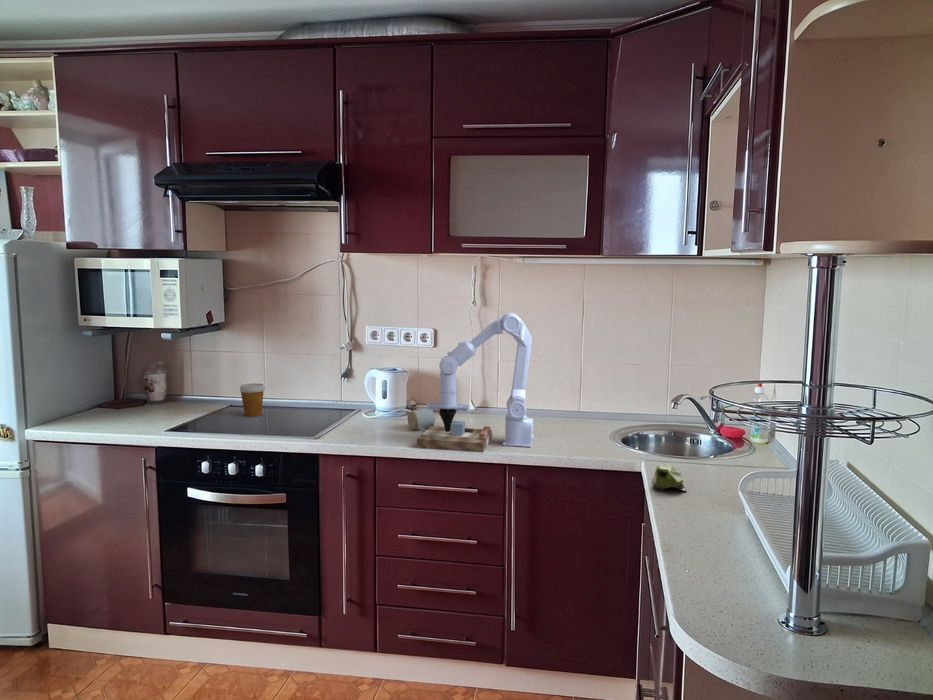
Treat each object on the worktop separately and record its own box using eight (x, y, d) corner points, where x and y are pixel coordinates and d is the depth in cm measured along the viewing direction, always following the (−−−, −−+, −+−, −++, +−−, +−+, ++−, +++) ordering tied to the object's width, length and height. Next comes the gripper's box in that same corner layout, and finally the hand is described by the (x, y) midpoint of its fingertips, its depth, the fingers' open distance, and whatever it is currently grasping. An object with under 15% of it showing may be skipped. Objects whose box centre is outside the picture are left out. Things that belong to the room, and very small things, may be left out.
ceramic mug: (406, 428, 243) (406, 407, 242) (425, 425, 247) (425, 405, 246) (420, 434, 234) (421, 413, 233) (440, 431, 239) (440, 411, 237)
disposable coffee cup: (261, 411, 268) (260, 382, 266) (268, 415, 260) (267, 386, 258) (237, 414, 262) (236, 384, 261) (244, 418, 255) (243, 388, 253)
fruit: (664, 500, 174) (659, 471, 173) (646, 491, 183) (641, 464, 182) (695, 491, 176) (690, 462, 175) (675, 483, 185) (670, 455, 184)
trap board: (491, 438, 230) (492, 424, 229) (483, 452, 212) (483, 436, 212) (430, 434, 234) (430, 420, 233) (417, 447, 216) (417, 432, 216)
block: (464, 433, 224) (464, 421, 224) (462, 436, 220) (462, 424, 220) (453, 432, 225) (453, 421, 224) (450, 435, 221) (450, 423, 220)
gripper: (471, 390, 224) (471, 429, 226) (430, 388, 227) (429, 427, 228) (467, 394, 217) (467, 434, 219) (424, 392, 220) (424, 431, 222)
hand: (447, 431), depth 223 cm, fingers closed
